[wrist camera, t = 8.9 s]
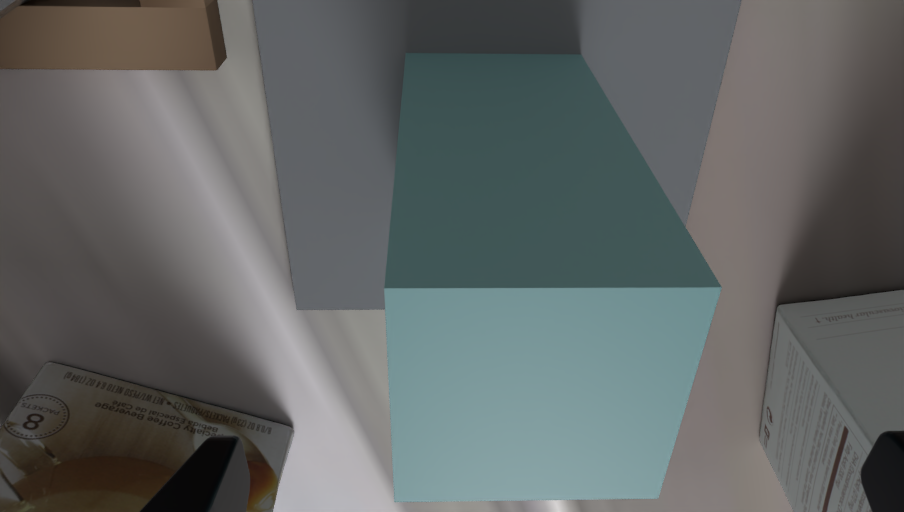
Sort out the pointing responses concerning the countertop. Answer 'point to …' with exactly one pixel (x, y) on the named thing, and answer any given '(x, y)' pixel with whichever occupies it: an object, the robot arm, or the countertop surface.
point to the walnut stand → (113, 35)
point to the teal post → (533, 289)
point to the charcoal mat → (473, 32)
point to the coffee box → (119, 444)
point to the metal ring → (9, 6)
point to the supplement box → (832, 395)
